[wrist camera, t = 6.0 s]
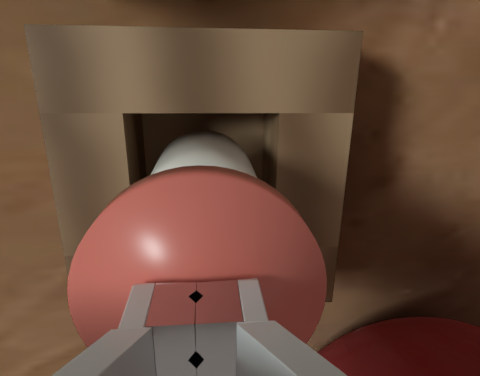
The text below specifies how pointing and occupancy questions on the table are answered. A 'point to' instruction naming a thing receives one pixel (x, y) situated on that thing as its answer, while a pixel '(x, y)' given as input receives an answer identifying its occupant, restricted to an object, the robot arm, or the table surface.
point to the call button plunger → (198, 239)
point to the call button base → (195, 112)
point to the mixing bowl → (408, 348)
